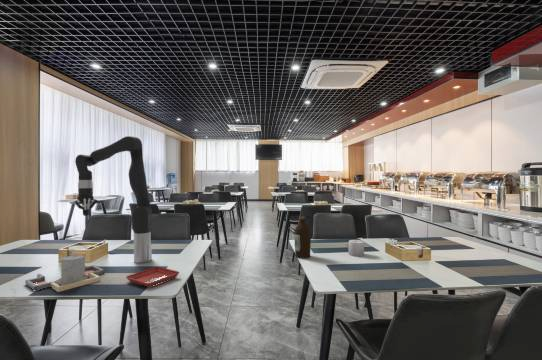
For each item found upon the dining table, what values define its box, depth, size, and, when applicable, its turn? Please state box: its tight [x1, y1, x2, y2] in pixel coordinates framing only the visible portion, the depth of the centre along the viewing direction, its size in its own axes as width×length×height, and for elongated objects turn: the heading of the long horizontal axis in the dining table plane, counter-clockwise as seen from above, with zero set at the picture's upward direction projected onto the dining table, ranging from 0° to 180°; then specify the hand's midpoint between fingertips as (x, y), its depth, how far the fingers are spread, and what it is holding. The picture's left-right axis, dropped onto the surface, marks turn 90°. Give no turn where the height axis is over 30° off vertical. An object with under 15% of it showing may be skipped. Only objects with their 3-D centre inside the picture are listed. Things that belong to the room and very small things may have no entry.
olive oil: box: [293, 216, 312, 259], centre depth 184 cm, size 11×11×25 cm
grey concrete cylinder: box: [60, 254, 86, 286], centre depth 139 cm, size 10×10×12 cm
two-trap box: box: [25, 264, 105, 293], centre depth 144 cm, size 29×29×2 cm
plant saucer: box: [125, 266, 180, 288], centre depth 143 cm, size 18×18×3 cm
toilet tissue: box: [345, 239, 365, 257], centre depth 190 cm, size 9×13×9 cm
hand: (85, 215), depth 178 cm, fingers closed
